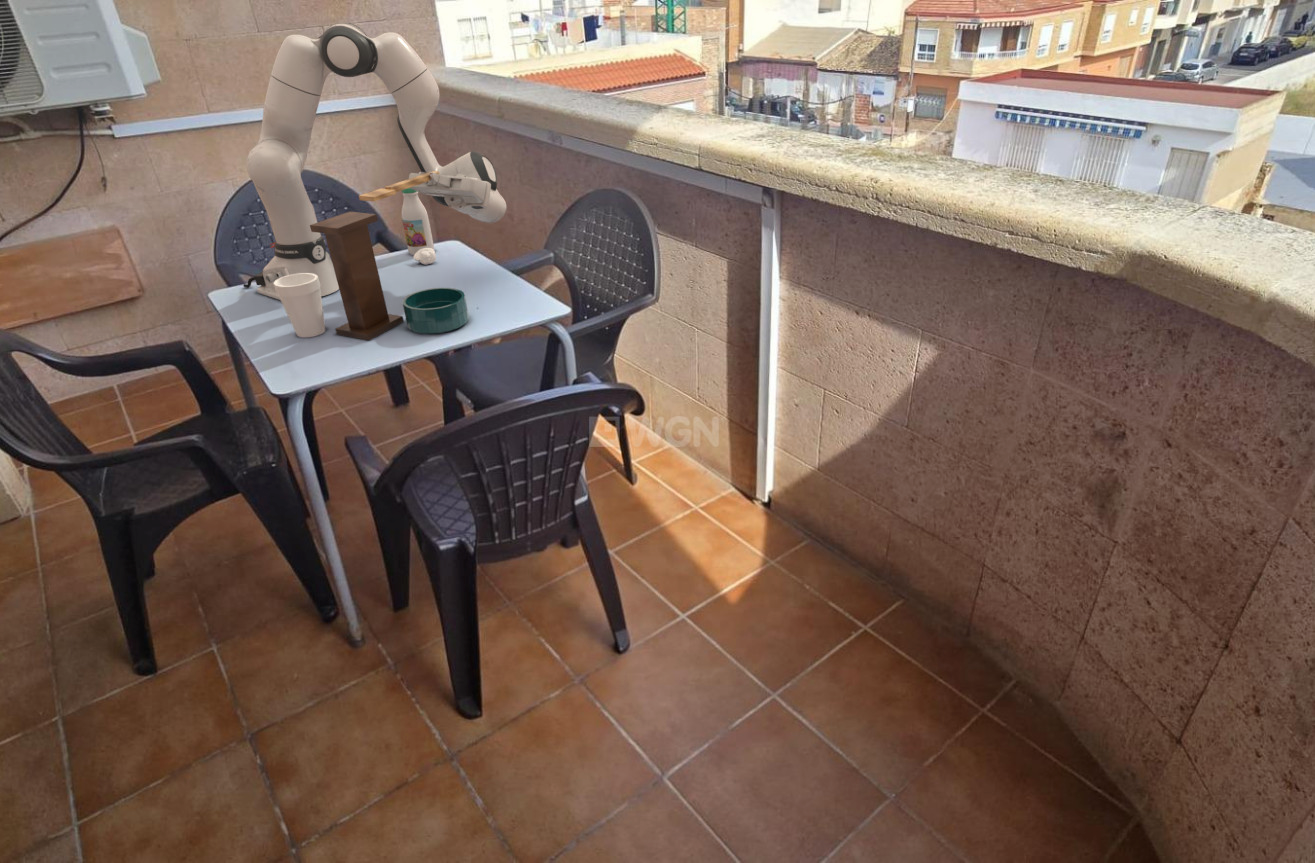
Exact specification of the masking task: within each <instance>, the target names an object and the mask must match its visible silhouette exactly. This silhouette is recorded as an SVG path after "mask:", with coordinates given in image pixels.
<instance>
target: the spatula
mask: <svg viewBox="0 0 1315 863" xmlns="http://www.w3.org/2000/svg"><path fill="white" fill-rule="evenodd" d="M430 173H437V174H439V172H438V171H432V172H429V173H426V174H423V175H420V176H417V177H414V178H411V179H409V178H408V179H404V180H403V181H402V180H401V181H398V182H395V183H392V184H390V185H386V186H384V188H377V189H375V190H372V191H369V192H366V193H362V194H359V195H358V199H359V201H364V202H373V203H374V202H377V201H380V200H381V201H382V200H384V199H386V198H390V197H392V196H395V195H397V193H398V192H402V190H404V189H407V188H410V187H413V186H416V185H419V184H422V183H425V182H428V181H431V180H429V176H430V175H429V174H430Z"/></svg>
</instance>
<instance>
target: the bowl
mask: <svg viewBox="0 0 1315 863" xmlns="http://www.w3.org/2000/svg"><path fill="white" fill-rule="evenodd" d="M401 303H402V307H403V312H404V317H405V320H406V325H407V328H408V329H409V330H410V331H411V332H415V333H419V334H422V335H423V334H425V335H438V334H444V333H448V332H453V331H455V330H457V329H459V328H461V327H463V326H464V325H466V323H468V321H469V318H470V317H469V310H468V305H467V299H466V294H465V292H464V291H462V290H461V289H458V288H452V287H433V288H426V289H422V290H418V291H415V292H412V293H410V294H408V295H407V296H406V297H404V298H403V299H402V302H401Z"/></svg>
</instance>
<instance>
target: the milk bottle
mask: <svg viewBox="0 0 1315 863" xmlns="http://www.w3.org/2000/svg"><path fill="white" fill-rule="evenodd" d="M401 193H402V194H401V195H403V203H402V207H401V220H402V226H403V231H404V236H405V240H406V245H407V250H408V253H409V255H412V256H414V255H415V253H416V252H417V251H418V250H420V249H423V248H432V249H433V250H434V251H435V245H434V239H433V234H432V230H431V224H430V219H429V215H428V212H427V209H426V207H425V206H424V204H423V203H422V201H421V199H420V197H419V192H418V191H415V190H413V189H410V188H407V189H404V190H402V191H401Z"/></svg>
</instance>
